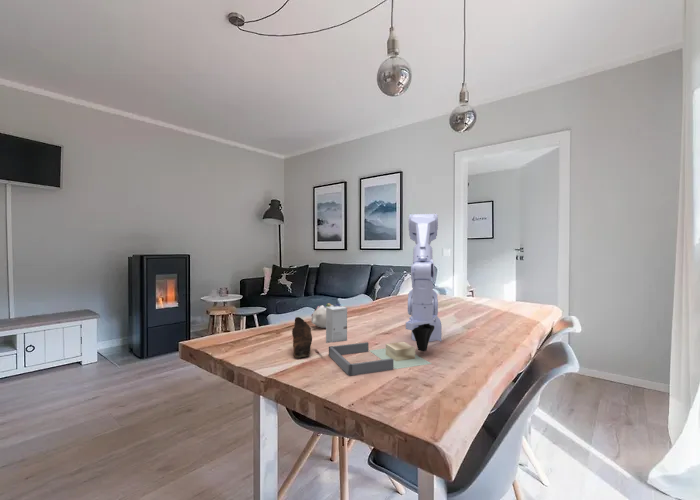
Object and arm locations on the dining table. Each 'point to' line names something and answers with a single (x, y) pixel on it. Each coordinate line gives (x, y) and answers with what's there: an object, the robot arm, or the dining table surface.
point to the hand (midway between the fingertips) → (422, 350)
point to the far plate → (403, 363)
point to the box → (357, 368)
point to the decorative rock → (301, 338)
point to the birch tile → (400, 351)
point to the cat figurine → (320, 316)
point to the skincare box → (336, 324)
